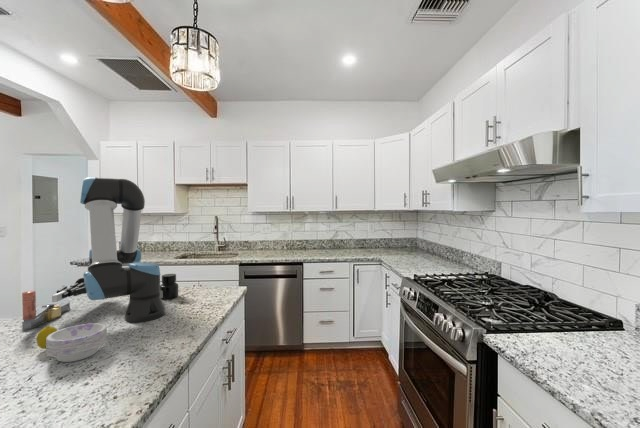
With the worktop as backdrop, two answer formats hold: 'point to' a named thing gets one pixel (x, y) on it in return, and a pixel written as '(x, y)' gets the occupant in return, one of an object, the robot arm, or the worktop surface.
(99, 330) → the paper bowls
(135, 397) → the worktop surface
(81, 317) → the worktop surface
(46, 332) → the lemon
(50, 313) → the gray bar
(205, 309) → the worktop surface
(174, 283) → the ink bottle
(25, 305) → the lever
